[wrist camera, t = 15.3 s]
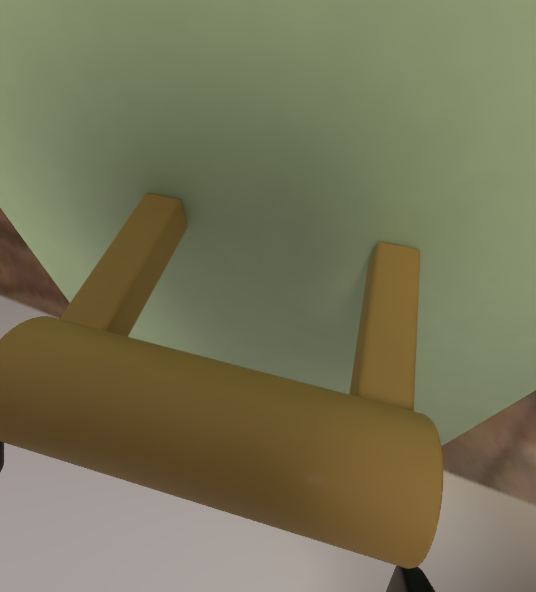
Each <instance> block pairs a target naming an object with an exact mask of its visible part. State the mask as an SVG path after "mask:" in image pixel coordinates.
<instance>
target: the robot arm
mask: <svg viewBox="0 0 536 592" xmlns="http://www.w3.org/2000/svg"><path fill="white" fill-rule="evenodd" d="M3 465H4V442H1V441H0V472H1V470H2V467H3ZM386 592H435V590H434V589H433V587H432V586H431V584H430V582H429V581H428V579H427V578H426V576H425V574H424V573H423V571H422V570H421V569H420V568H418V567H415V568H409V569H407V568H404V567H400V566H396V568H395V570H394V573H393V575H392V578H391V580H390V583H389V585H388V588H387V591H386Z"/></svg>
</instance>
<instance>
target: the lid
mask: <svg viewBox="0 0 536 592" xmlns="http://www.w3.org/2000/svg"><path fill="white" fill-rule="evenodd" d="M0 208H1V209H2V211H3V212H4V213H5V215H6V216H7V218H8V219H9V220H10V222H11V223H12V224H13V226H14V227H15V229H16V230H17V231H18V233H19V234H20V235H21V237H22V238H23V239H24V241H25V242H26V244H27V245H28V246H29V248H30V249H31V250H32V252H33V253H34V254H35V256H36V257H37V259H38V260H39V261H40V263H41V264H42V265H43V267H44V268H45V270H46V271H47V272H48V274H49V275H50V276H51V278H52V279H53V280H54V282H55V283H56V285H57V286H58V287H59V289H60V290H61V291H62V293H63V294H64V295H65V297H66V298H67V300H68V301H69V302H70V304H69V305H68V307H67V308H66V310H65V311H64V313H63V314H62V316H61V317H60V318H59V319H58V318H54V317H48V316H45V317H44V316H43V317H37V318H32V319H29V320H27V321H24V322H22V323H20V324H19V325H17V326H16V327H14V328H13V329H11V330H10V331H9V332H8V333H7V334H5V335H4V336H3V337H2V338H1V339H0V441H1V442H4V443H8V444H11V445H14V446H17V447H20V448H24V449H27V450H30V451H33V452H36V453H40V454H43V455H46V456H49V457H53V458H56V459H59V460H62V461H65V462H68V463H71V464H75V465H78V466H81V467H84V468H87V469H91V470H94V471H97V472H100V473H104V474H107V475H110V476H113V477H116V478H120V479H123V480H126V481H129V482H132V483H136V484H139V485H142V486H145V487H148V488H152V489H155V490H158V491H161V492H164V493H168V494H170V495H174V496H177V497H180V498H183V499H186V500H190V501H193V502H196V503H199V504H202V505H206V506H209V507H212V508H215V509H218V510H222V511H225V512H228V513H231V514H235V515H238V516H241V517H244V518H247V519H251V520H253V521H257V522H260V523H263V524H266V525H269V526H273V527H276V528H279V529H282V530H285V531H289V532H292V533H295V534H298V535H301V536H305V537H308V538H311V539H314V540H317V541H321V542H324V543H327V544H330V545H333V546H337V547H340V548H343V549H347V550H350V551H353V552H356V553H359V554H363V555H365V556H369V557H372V558H375V559H378V560H381V561H384V562H388V563H391V564H394V565H397V566H400V567H404V568H407V569H409V568H415V567H417V566H419V565H420V564H421V563H422V562H423V560H424V559H425V557H426V556H427V553H428V552H429V550H430V547H431V545H432V542H433V539H434V536H435V532H436V529H437V524H438V520H439V514H440V509H441V501H442V491H443V459H442V449H441V446H443V445H444V444H446V443H448V442H449V441H451V440H453V439H454V438H456V437H458V436H459V435H461V434H463V433H465V432H466V431H468V430H470V429H471V428H473V427H475V426H476V425H478V424H480V423H481V422H483V421H485V420H486V419H488V418H490V417H491V416H493V415H495V414H496V413H498V412H500V411H502V410H503V409H505V408H507V407H508V406H510V405H512V404H513V403H515V402H517V401H518V400H520V399H522V398H523V397H525V396H527V395H528V394H530V393H532V392H533V391H535V390H536V0H0Z"/></svg>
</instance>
